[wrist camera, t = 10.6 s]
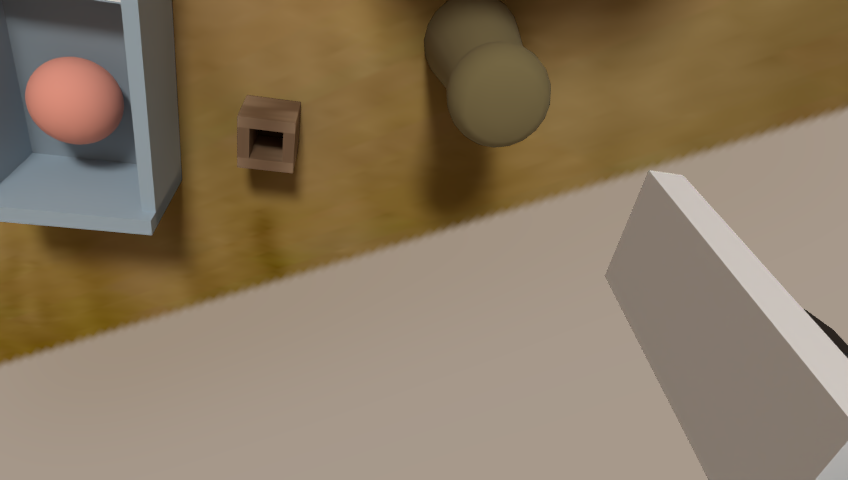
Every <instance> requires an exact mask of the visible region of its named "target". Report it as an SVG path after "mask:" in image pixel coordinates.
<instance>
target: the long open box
mask: <svg viewBox="0 0 848 480" xmlns="http://www.w3.org/2000/svg"><path fill="white" fill-rule="evenodd" d="M60 57H79V58H84V59H87V60H90V61H92V62H94V63H96V64H98V65H100V66H101V67H103V68H104V69H105V70H107V71H108V72H109V73H110V74H111V75H112V76H113V77H114V79H115V80H116V81H117V83H118V85H119V87H120V89H121V91H122V94H123V98H124V112H123V116H122V119H121V121H120V123H119V125H118V127H117V128H116V129H115V130H114V131H113V132H112V133H111V134H110V135H109V136H107V137H106V138H104V139H102V140H100V141H98V142H95V143H90V144H82V145H78V144H70V143H65V142H62V141H59V140H57V139H54V138H53V137H51V136H49V135H47V134H46V133H45V132H44V131H42V130H41V129H40V128H39V127H38V126H37V125H36V123H35V122H34V121H33V119H32V118H31V116H30V114H29V112H28V109H27V106H26V101H25V90H26V86H27V83H28V80H29V78H30V76H31V75H32V74H33V72H34V71H35V70H36V69H37V68H38V67H39V66H41V65H42V64H44V63H45V62H47V61H49V60H52V59H55V58H60ZM181 181H182V171H181V153H180V135H179V117H178V100H177V82H176V64H175V46H174V28H173V10H172V0H0V222H11V223H22V224H33V225H44V226H55V227H66V228H77V229H88V230H99V231H110V232H121V233H132V234H143V235H153V233H154V231H155V229H156V227H157V225H158V223H159V222H160V220H161V218H162V216H163V214H164V212H165V210H166V209H167V207H168V205H169V203H170V201H171V199H172V197H173V196H174V194H175V192H176V190H177V188H178V186H179V184H180V183H181Z"/></svg>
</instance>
